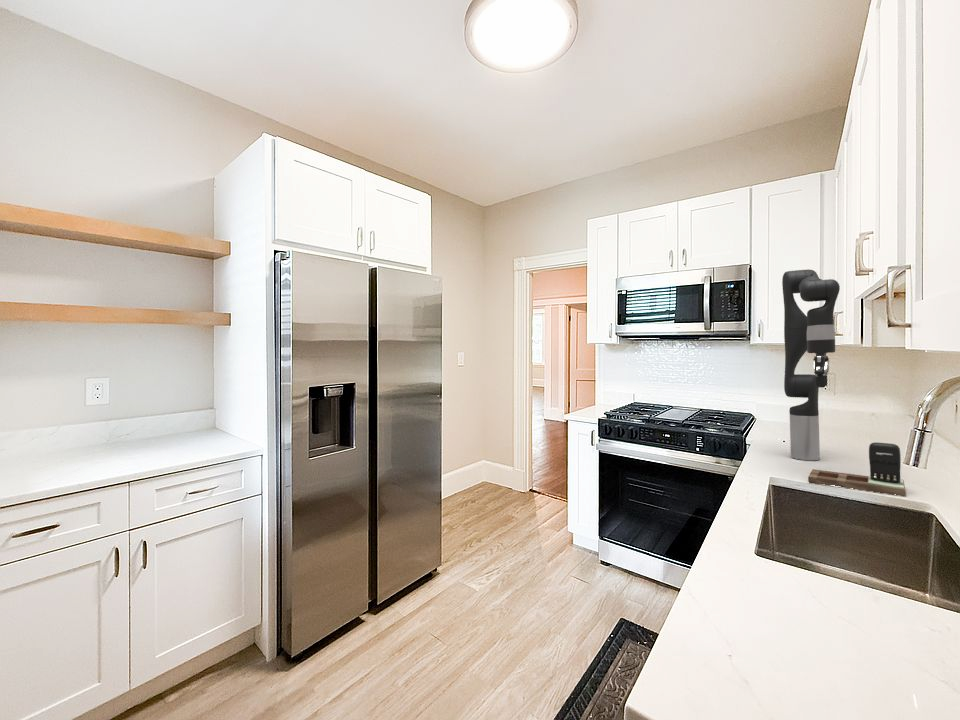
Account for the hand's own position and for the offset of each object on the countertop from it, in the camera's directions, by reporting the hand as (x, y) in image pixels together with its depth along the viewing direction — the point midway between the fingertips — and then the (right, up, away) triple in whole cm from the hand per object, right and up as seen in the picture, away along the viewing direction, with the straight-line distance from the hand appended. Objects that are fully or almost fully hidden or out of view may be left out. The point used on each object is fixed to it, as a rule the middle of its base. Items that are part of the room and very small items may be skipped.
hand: (822, 386), depth 145 cm
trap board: (+1, -30, -11) cm, 32 cm away
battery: (+6, -28, -16) cm, 33 cm away
